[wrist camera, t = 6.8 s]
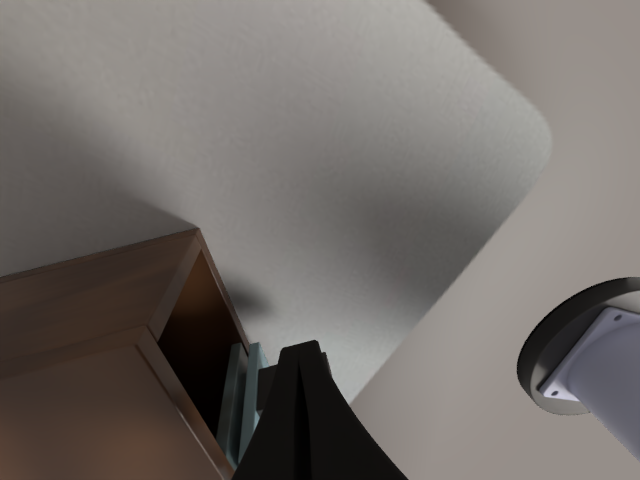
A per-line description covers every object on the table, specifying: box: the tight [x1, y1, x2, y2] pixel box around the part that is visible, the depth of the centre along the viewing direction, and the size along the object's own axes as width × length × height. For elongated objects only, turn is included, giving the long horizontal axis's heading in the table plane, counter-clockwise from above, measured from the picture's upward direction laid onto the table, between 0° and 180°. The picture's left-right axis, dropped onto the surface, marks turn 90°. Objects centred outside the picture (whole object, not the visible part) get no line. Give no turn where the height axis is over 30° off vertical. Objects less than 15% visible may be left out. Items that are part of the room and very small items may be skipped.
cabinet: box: [0, 228, 249, 480], centre depth 15 cm, size 10×14×8 cm
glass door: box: [238, 342, 332, 463], centre depth 17 cm, size 4×7×6 cm, turn 12°
